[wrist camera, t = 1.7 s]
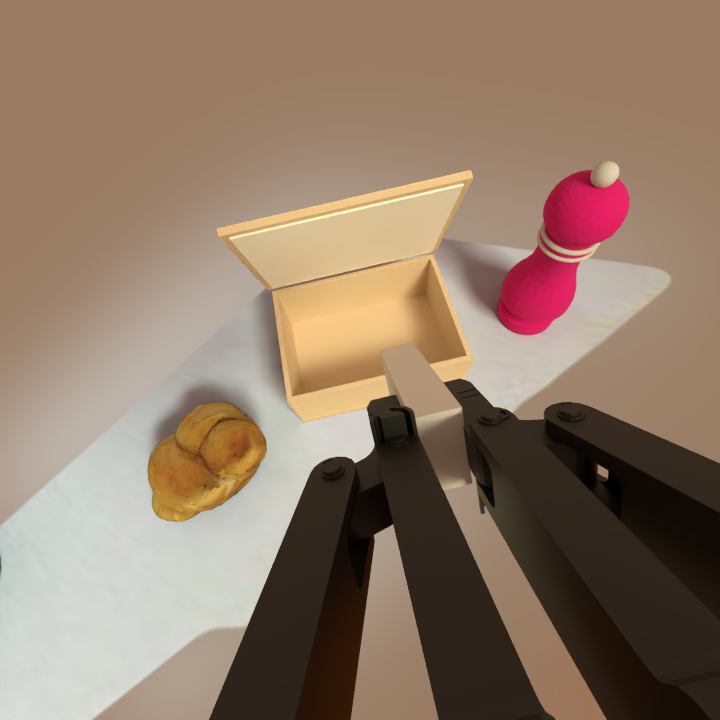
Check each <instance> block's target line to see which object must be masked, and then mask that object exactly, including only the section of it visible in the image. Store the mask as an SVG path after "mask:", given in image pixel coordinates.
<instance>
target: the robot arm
mask: <svg viewBox="0 0 720 720" xmlns="http://www.w3.org/2000/svg"><path fill="white" fill-rule="evenodd" d="M380 352H381V357H382V362H383V367H384V371H385V376H386V381H387V386H388V390H389V395H390V396H387V397H383V398H379V399H374V400H371V401H370V402H369V404H368V406H367V411H368V416H369V420H370V426H371V430H372V434H373V439H374V443H375V446H374V449H373V451H372V452H371V453H370V455H368V456H367V457H366V458H364V459H363V460H361V461H359V462H357V463H354V462H353V460H352V459H349V458H347V457H334V458H329V459H327V460H324V461H322V462H321V463H319V464H318V465H317V466H315V467H314V469H313V470H312V472H311V473H310V475H309V478H308V480H307V483H306V485H305V488H304V490H303V492H302V495H301V497H300V500H299V502H298V505H297V507H296V509H295V512H294V514H293V517H292V519H291V522H290V524H289V527H288V529H287V531H286V534H285V536H284V539H283V541H282V544H281V546H280V548H279V551H278V553H277V556H276V558H275V561H274V563H273V565H272V568H271V570H270V573H269V575H268V578H267V580H266V583H265V585H264V587H263V590H262V592H261V595H260V597H259V600H258V602H257V604H256V607H255V609H254V612H253V614H252V617H251V619H250V621H249V624H248V626H247V629H246V631H245V634H244V636H243V639H242V641H241V643H240V646H239V648H238V651H237V653H236V656H235V658H234V660H233V663H232V666H231V668H230V670H229V673H228V675H227V678H226V680H225V682H224V685H223V687H222V690H221V692H220V695H219V697H218V699H217V702H216V704H215V707H214V709H213V712H212V714H211V716H210V719H209V720H351V713H352V706H353V698H354V691H355V683H356V676H357V669H358V661H359V653H360V646H361V638H362V631H363V624H364V616H365V609H366V602H367V594H368V587H369V579H370V572H371V565H372V557H373V550H374V543H375V542H374V541H375V540H374V534H376V533H378V532H380V531H382V530H384V529H385V528H387V527H389V526H391V525H394V529H395V533H396V537H397V541H398V546H399V550H400V554H401V559H402V563H403V568H404V572H405V576H406V580H407V585H408V589H409V593H410V598H411V602H412V606H413V611H414V615H415V619H416V623H417V628H418V632H419V636H420V640H421V645H422V649H423V654H424V658H425V662H426V667H427V671H428V675H429V679H430V684H431V688H432V692H433V696H434V701H435V705H436V710H437V714H438V718H439V720H555V719H554V717H553V716H551V715H549V714H548V713H547V712H545V710H544V709H543V707H542V705H541V704H540V702H539V700H538V698H537V696H536V694H535V691H534V690H533V687H532V685H531V683H530V680H529V678H528V676H527V674H526V672H525V669H524V667H523V665H522V663H521V661H520V658H519V656H518V654H517V652H516V650H515V647H514V645H513V643H512V641H511V639H510V636H509V634H508V632H507V630H506V628H505V625H504V623H503V621H502V619H501V617H500V614H499V612H498V610H497V608H496V606H495V603H494V601H493V599H492V597H491V594H490V592H489V590H488V588H487V586H486V584H485V581H484V579H483V577H482V575H481V573H480V570H479V568H478V566H477V564H476V561H475V559H474V557H473V555H472V553H471V551H470V548H469V546H468V544H467V541H466V539H465V537H464V535H463V533H462V531H461V529H460V526H459V524H458V522H457V519H456V517H455V515H454V513H453V511H452V508H451V506H450V504H449V502H448V500H447V498H446V495H445V493H444V491H443V490H446V489H450V488H455V487H458V486H463V485H467V484H471V483H472V478H471V471H472V473H473V474H474V476H475V477H476V483H477V491H478V498H479V506H480V511H481V514H484V513H485V511H484V506H486V508H487V510H488V511H489V513H490V515H491V517H492V518H493V520H494V522H495V524H496V525H497V527H498V529H499V531H500V532H501V534H502V536H503V538H504V539H505V541H506V543H507V545H508V547H509V548H510V550H511V552H512V554H513V555H514V557H515V559H516V561H517V562H518V564H519V566H520V568H521V569H522V571H523V573H524V575H525V576H526V578H527V580H528V582H529V584H530V585H531V587H532V589H533V591H534V592H535V594H536V596H537V597H538V599H539V601H540V603H541V605H542V606H543V608H544V610H545V611H546V613H547V615H548V617H549V618H550V620H551V622H552V624H553V626H554V627H555V629H556V631H557V633H558V635H559V636H560V638H561V640H562V642H563V643H564V645H565V647H566V648H567V650H568V652H569V654H570V656H571V657H572V659H573V661H574V663H575V664H576V666H577V668H578V670H579V671H580V673H581V675H582V677H583V679H584V680H585V682H586V684H587V685H588V687H589V689H590V691H591V693H592V694H593V696H594V698H595V700H596V701H597V703H598V705H599V707H600V709H601V710H602V712H603V714H604V716H605V717H606V719H607V720H720V463H717V462H715V461H713V460H711V459H708V458H706V457H704V456H701V455H699V454H697V453H695V452H692V451H689V450H688V449H685V448H683V447H681V446H679V445H676V444H674V443H672V442H669V441H667V440H665V439H663V438H660V437H658V436H656V435H653V434H651V433H649V432H647V431H644V430H642V429H640V428H637V427H635V426H633V425H631V424H628V423H626V422H624V421H621V420H619V419H617V418H615V417H612V416H610V415H608V414H605V413H603V412H601V411H599V410H596V409H594V408H592V407H589V406H586V405H583V404H580V403H572V402H565V403H564V402H562V403H557V404H553V405H551V406H549V407H548V408H546V409H545V411H544V419H542V420H519V419H518V418H517V417H516V416H515V415H514V414H513V413H511V412H510V411H508V410H506V409H503V408H497V407H493V406H492V405H491V404H490V403H489V401H488V400H487V399H486V398H485V397H484V396H483V395H482V394H481V393H480V392H479V391H478V390H476V388H475V387H474V386H473V384H472V383H471V382H468V381H466V380H463V379H461V378H460V379H455V380H451V381H447V382H442V380H441V379H440V378H439V376H438V375H437V374H436V372H435V371H434V370H433V368H432V367H431V366H430V365H429V363H428V362H427V361H426V359H425V358H424V357H423V355H422V354H421V353H420V351H419V350H418V349H417V347H416V346H415V345H414V343H413V342H412V343H407V344H403V345H399V346H395V347H390V348H386V349H382V350H380ZM598 464H599V465H600V466H602V467H604V468H605V469H607V470H608V472H609V473H608V479H607V478H605V477H603V476H601V475H599V474H598V473H597V472H598V466H597V465H598ZM470 469H471V470H470Z"/></svg>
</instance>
